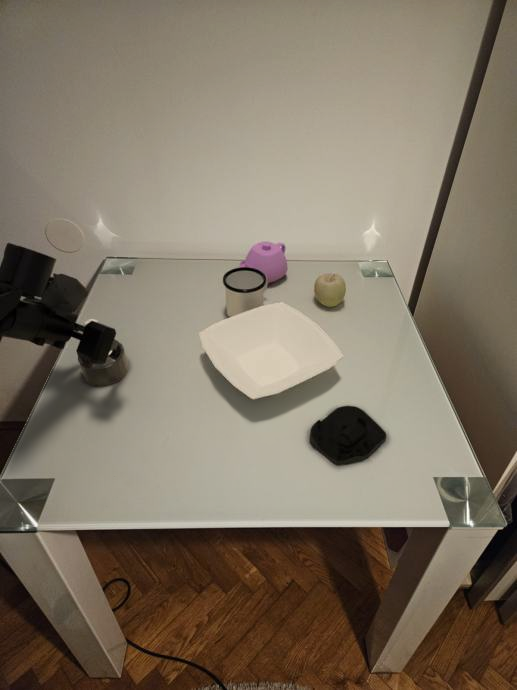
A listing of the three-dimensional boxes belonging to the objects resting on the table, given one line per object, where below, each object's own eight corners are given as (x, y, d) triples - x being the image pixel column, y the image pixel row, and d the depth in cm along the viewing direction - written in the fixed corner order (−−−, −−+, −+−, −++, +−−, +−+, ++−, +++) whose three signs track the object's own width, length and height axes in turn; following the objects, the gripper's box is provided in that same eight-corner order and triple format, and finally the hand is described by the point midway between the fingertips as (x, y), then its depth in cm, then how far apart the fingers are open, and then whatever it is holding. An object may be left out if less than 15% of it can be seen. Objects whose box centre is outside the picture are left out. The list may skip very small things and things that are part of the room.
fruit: (350, 302, 103) (355, 273, 98) (331, 315, 99) (335, 286, 94) (325, 289, 107) (329, 260, 102) (305, 301, 103) (308, 272, 98)
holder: (83, 389, 81) (77, 372, 78) (84, 359, 87) (78, 343, 84) (129, 381, 83) (125, 364, 80) (127, 352, 89) (122, 335, 86)
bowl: (190, 353, 89) (188, 332, 85) (283, 317, 98) (285, 296, 95) (247, 428, 75) (247, 407, 71) (350, 377, 84) (354, 356, 80)
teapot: (298, 275, 111) (301, 242, 105) (254, 297, 104) (255, 263, 98) (270, 259, 117) (271, 227, 111) (227, 279, 110) (225, 246, 103)
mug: (246, 330, 95) (245, 296, 89) (215, 312, 99) (213, 278, 93) (280, 306, 101) (282, 272, 95) (250, 290, 106) (250, 257, 100)
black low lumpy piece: (346, 401, 80) (350, 383, 76) (392, 434, 74) (398, 415, 71) (302, 438, 74) (304, 419, 70) (348, 476, 68) (353, 458, 65)
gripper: (93, 288, 62) (153, 309, 76) (4, 255, 68) (75, 281, 83) (66, 361, 62) (131, 369, 76) (-21, 322, 68) (55, 336, 83)
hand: (97, 336), depth 80 cm, fingers open, 9 cm apart
